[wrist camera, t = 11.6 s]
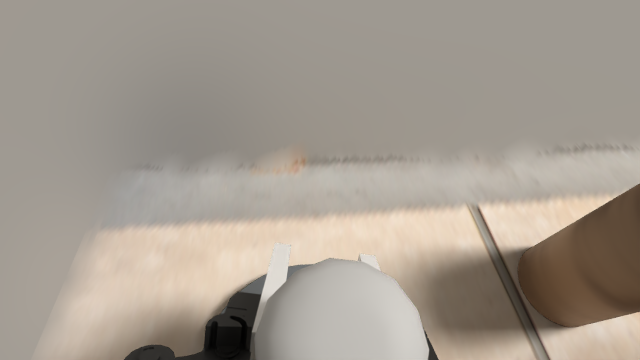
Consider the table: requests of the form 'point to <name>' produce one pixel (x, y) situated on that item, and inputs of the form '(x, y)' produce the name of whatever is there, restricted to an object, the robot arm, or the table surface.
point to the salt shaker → (340, 317)
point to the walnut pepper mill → (588, 266)
